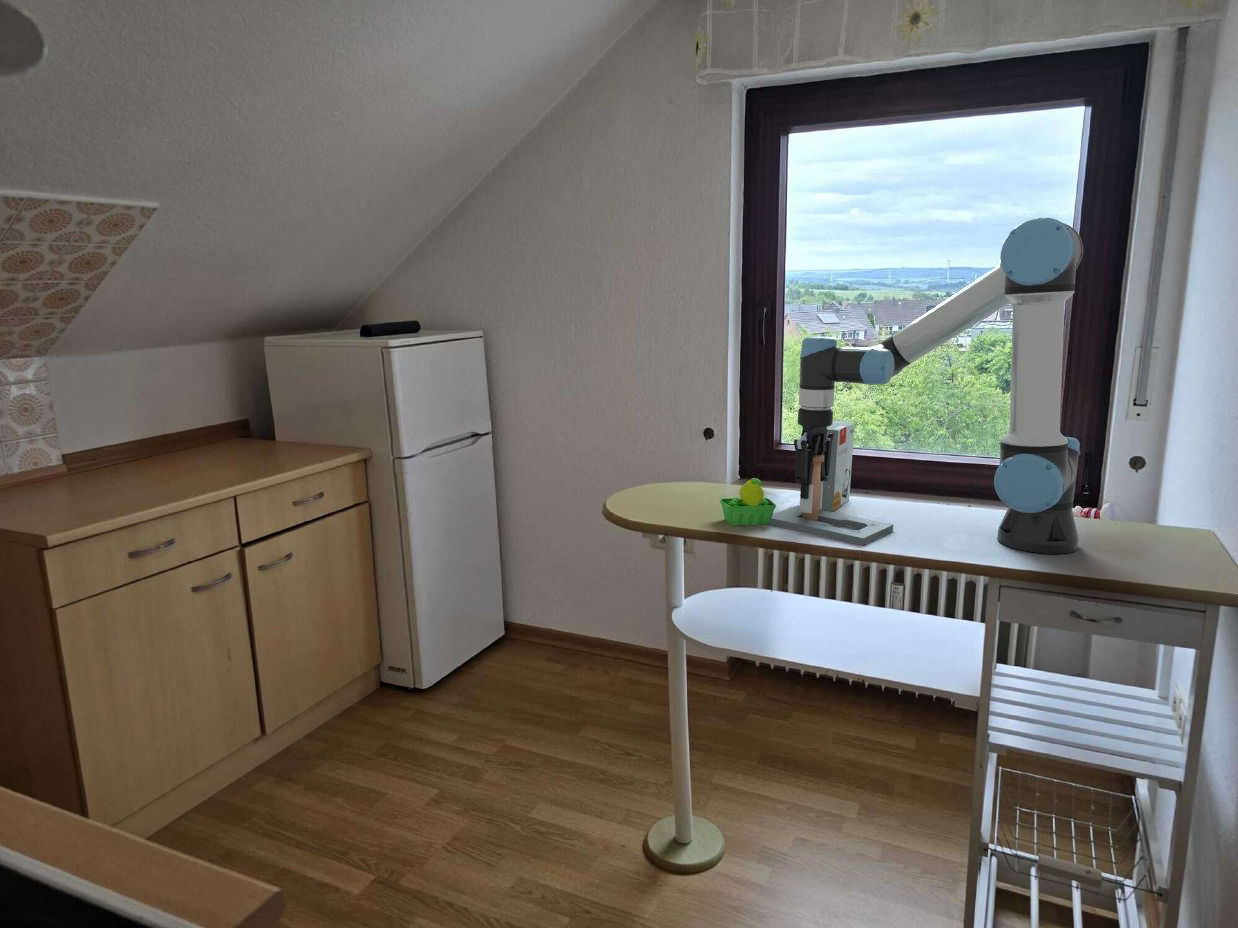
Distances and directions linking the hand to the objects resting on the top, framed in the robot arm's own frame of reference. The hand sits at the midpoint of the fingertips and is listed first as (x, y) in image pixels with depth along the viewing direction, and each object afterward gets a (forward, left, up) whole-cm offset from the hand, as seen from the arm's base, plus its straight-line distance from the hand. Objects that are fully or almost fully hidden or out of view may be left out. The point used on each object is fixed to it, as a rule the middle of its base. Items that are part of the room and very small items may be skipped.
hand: (810, 510), depth 190 cm
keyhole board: (-5, 0, -3) cm, 5 cm away
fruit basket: (+11, +9, -4) cm, 14 cm away
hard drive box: (+6, -18, -3) cm, 19 cm away
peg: (0, 0, -2) cm, 2 cm away
